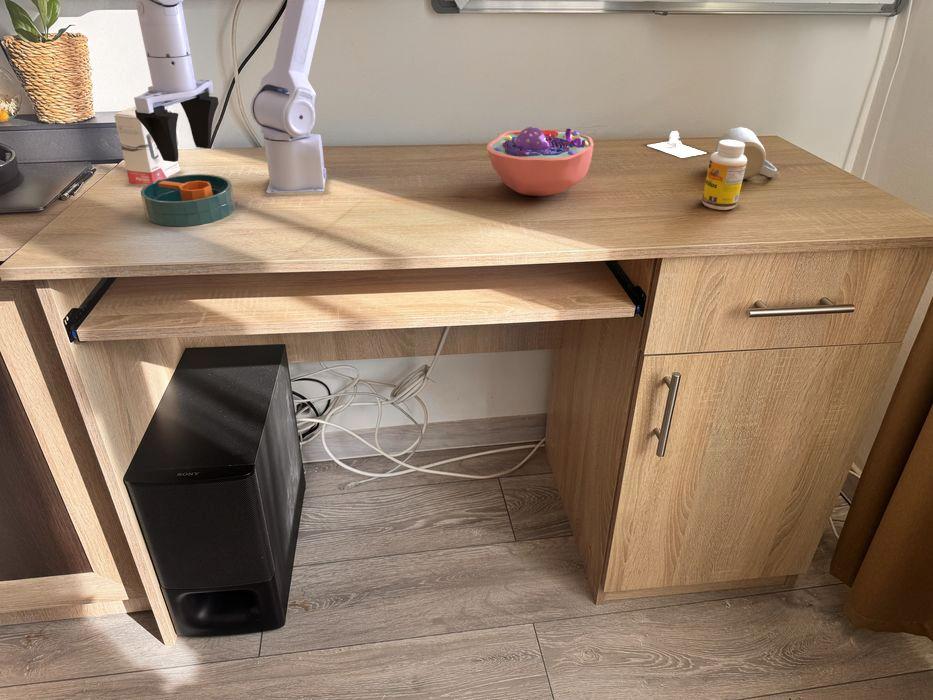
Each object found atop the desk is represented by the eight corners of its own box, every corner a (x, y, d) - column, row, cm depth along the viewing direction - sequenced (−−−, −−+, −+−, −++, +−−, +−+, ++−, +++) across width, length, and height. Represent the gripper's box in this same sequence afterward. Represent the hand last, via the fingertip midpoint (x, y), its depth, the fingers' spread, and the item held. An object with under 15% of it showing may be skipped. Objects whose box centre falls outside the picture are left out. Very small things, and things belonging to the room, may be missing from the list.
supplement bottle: (695, 199, 114) (708, 138, 109) (728, 199, 115) (741, 137, 109) (708, 211, 110) (721, 148, 104) (741, 211, 110) (756, 147, 105)
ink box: (155, 187, 116) (138, 116, 110) (128, 185, 117) (110, 114, 110) (183, 172, 123) (168, 104, 117) (157, 170, 124) (142, 102, 118)
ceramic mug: (721, 180, 123) (731, 137, 119) (710, 166, 130) (719, 125, 125) (781, 183, 122) (793, 140, 118) (766, 169, 129) (778, 128, 125)
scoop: (221, 208, 107) (216, 182, 104) (204, 218, 103) (198, 191, 101) (175, 202, 109) (169, 176, 106) (157, 212, 105) (150, 185, 103)
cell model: (612, 188, 119) (621, 122, 113) (542, 218, 106) (547, 145, 100) (536, 167, 128) (540, 105, 122) (463, 192, 116) (464, 124, 110)
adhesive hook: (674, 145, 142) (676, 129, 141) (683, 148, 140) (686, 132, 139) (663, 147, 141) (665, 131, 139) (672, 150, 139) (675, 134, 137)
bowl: (241, 197, 112) (236, 173, 110) (228, 227, 101) (223, 200, 99) (158, 200, 111) (152, 175, 109) (137, 231, 100) (130, 204, 98)
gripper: (177, 46, 100) (194, 139, 108) (106, 60, 89) (130, 163, 96) (219, 49, 99) (233, 143, 106) (152, 64, 87) (173, 169, 94)
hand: (187, 153), depth 101 cm, fingers open, 7 cm apart
